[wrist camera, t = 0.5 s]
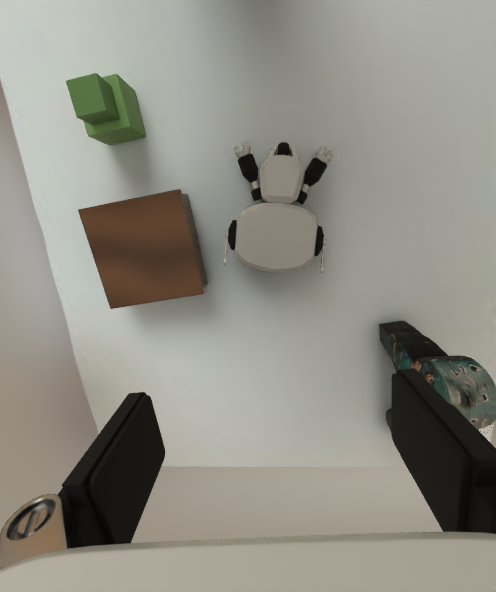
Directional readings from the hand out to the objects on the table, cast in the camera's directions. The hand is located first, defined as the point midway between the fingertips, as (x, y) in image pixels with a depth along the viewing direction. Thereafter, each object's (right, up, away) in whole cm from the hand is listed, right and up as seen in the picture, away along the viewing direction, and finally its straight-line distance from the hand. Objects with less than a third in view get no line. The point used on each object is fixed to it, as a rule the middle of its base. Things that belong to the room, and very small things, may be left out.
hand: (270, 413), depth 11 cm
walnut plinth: (-13, +11, +28) cm, 33 cm away
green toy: (-16, +26, +24) cm, 39 cm away
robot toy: (+3, +16, +26) cm, 31 cm away
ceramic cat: (+21, -7, +32) cm, 39 cm away
